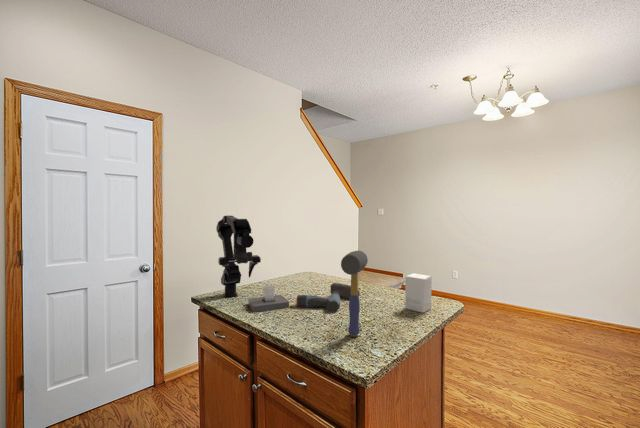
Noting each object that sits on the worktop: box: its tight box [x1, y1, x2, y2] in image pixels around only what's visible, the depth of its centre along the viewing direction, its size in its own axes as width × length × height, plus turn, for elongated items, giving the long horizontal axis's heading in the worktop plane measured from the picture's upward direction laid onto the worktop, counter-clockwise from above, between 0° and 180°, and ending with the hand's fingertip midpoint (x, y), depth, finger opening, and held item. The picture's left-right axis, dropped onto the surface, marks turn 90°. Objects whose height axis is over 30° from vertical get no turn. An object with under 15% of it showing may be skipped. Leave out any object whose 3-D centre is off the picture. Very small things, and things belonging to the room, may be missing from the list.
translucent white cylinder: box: [262, 284, 275, 303], centre depth 134 cm, size 4×4×9 cm
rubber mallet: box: [340, 250, 369, 337], centre depth 103 cm, size 12×8×30 cm, turn 158°
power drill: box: [295, 291, 341, 313], centre depth 137 cm, size 5×19×20 cm
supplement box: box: [404, 273, 432, 313], centre depth 132 cm, size 9×9×15 cm
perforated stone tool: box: [329, 282, 361, 299], centre depth 148 cm, size 15×5×7 cm, turn 68°
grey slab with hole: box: [248, 294, 290, 313], centre depth 134 cm, size 12×16×2 cm
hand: (239, 278), depth 137 cm, fingers open, 9 cm apart
